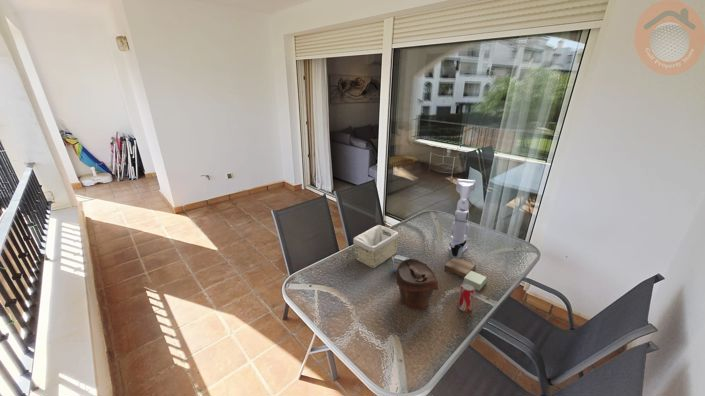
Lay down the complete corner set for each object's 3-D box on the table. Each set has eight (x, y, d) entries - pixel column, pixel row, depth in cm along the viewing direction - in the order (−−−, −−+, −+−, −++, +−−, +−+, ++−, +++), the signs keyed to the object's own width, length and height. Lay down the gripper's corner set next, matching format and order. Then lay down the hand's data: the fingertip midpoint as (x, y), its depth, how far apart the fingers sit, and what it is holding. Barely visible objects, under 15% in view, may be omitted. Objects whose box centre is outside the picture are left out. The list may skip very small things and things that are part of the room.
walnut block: (454, 260, 162) (455, 256, 161) (475, 268, 154) (475, 264, 153) (444, 269, 154) (444, 265, 153) (465, 279, 146) (466, 274, 145)
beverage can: (465, 315, 123) (468, 293, 118) (454, 306, 128) (457, 284, 123) (475, 310, 125) (478, 288, 121) (464, 301, 130) (467, 280, 126)
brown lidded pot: (430, 321, 120) (433, 286, 113) (387, 304, 130) (388, 271, 124) (441, 297, 134) (445, 265, 128) (402, 283, 144) (404, 253, 138)
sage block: (470, 276, 148) (470, 270, 146) (485, 283, 142) (486, 277, 141) (463, 284, 142) (464, 277, 141) (479, 291, 137) (480, 284, 136)
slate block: (453, 252, 156) (454, 243, 154) (461, 255, 153) (462, 246, 151) (449, 256, 153) (451, 246, 151) (457, 259, 150) (459, 249, 148)
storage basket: (373, 270, 154) (373, 247, 149) (352, 259, 165) (351, 237, 160) (399, 253, 170) (399, 231, 165) (378, 244, 181) (378, 223, 175)
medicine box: (393, 271, 153) (393, 258, 150) (395, 267, 157) (396, 254, 153) (407, 275, 149) (407, 261, 146) (409, 271, 153) (410, 257, 150)
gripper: (458, 224, 155) (456, 246, 160) (445, 234, 146) (443, 256, 151) (471, 228, 150) (468, 250, 155) (458, 238, 141) (455, 261, 146)
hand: (456, 253), depth 153 cm, fingers closed on slate block, 4 cm apart
